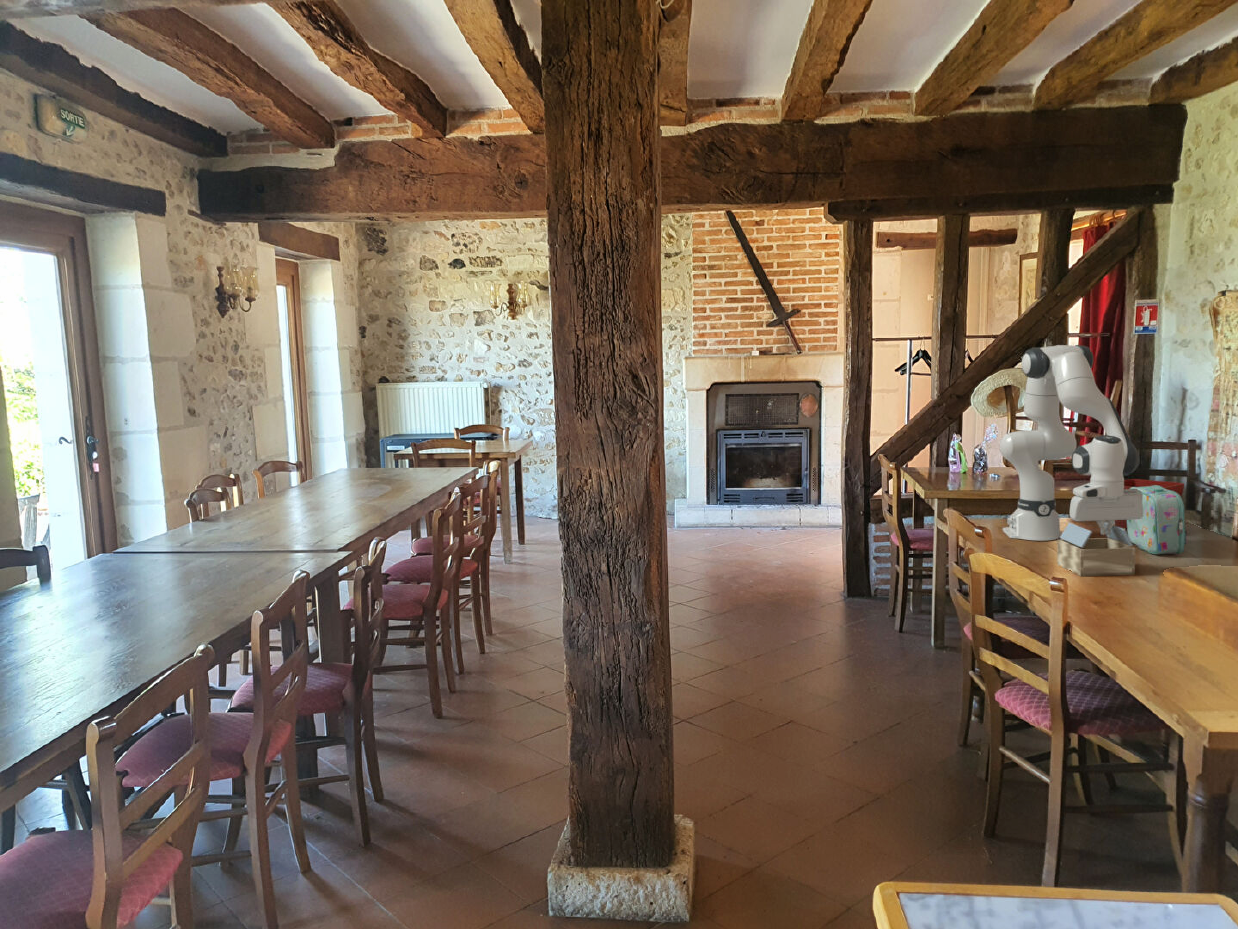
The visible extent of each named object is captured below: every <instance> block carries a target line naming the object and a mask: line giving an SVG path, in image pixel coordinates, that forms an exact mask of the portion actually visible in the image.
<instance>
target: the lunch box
mask: <svg viewBox="0 0 1238 929" xmlns="http://www.w3.org/2000/svg"><path fill="white" fill-rule="evenodd" d="M1130 489H1138V490H1140V491H1141V492H1142V494H1143V499H1142V505H1143V517H1142V518H1141V519H1132V520H1127V529H1126V532H1127V534H1128V537H1129V539H1130V541H1131V543H1132V544H1134V545H1136V547H1137V548H1139V549H1140V550H1144V551H1146V552H1148V553H1149V554H1152V555H1169V554H1171V555H1173V554H1176V555H1177V554H1178V555H1179V554H1181V553H1184V549H1185V545H1186V543H1187V531H1186V530H1185V529H1186V527H1185V526H1186V525H1185V505H1184V501H1183V499H1182V497H1180V495H1179V494H1178V493H1176V492H1174V491H1171V490H1167V489H1164V488H1163V487H1161V486H1157V485H1154V486H1146V487H1131V488H1130ZM1138 492H1139V491H1138Z"/></svg>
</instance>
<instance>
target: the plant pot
mask: <svg viewBox="0 0 1238 929" xmlns="http://www.w3.org/2000/svg"><path fill="white" fill-rule="evenodd" d="M1154 485H1157V486H1161V487H1163V488H1164V489H1167V490H1171V491H1174V492H1176V493H1178V494H1179V495H1180V497H1181V498H1182V497H1183V492H1184V488H1185V483H1184V482H1175V481H1165V480H1162V481H1161V480H1152V479H1141V478H1139V479H1138V478H1131V479H1124V489H1130V488H1131V487H1146V486H1154ZM1114 526H1117V527H1120V528H1127V520H1115V524H1114Z"/></svg>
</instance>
